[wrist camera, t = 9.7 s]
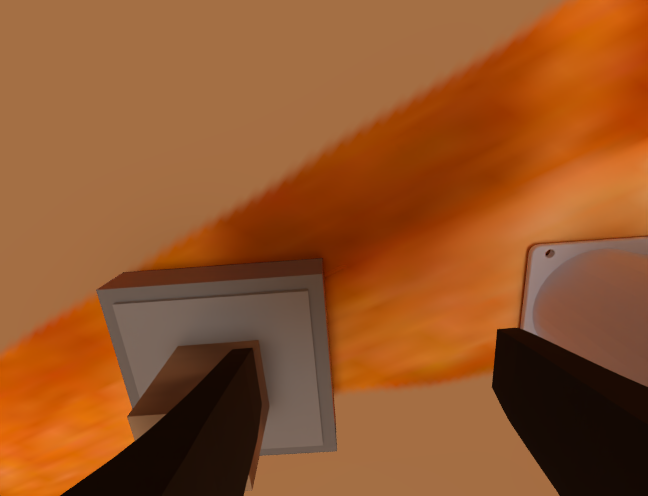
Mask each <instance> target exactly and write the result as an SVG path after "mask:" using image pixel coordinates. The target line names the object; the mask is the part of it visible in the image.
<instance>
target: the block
mask: <svg viewBox="0 0 648 496" xmlns="http://www.w3.org/2000/svg"><path fill="white" fill-rule="evenodd" d="M241 348H253V352H254V358H255V364H256V370H257V376H258V383H259V389H260V395H261V401H262V408H261V416H260V425H259V432H258V439H257V443H256V447H255V451H254V456H253V460H252V464H251V468H250V472H249V476H248V480H247V484H246V488H245V491H252V489H253V484H254V479H255V474H256V469H257V465H258V460H259V455H260V450H261V446H262V441H263V436H264V431H265V426H266V421H267V416H268V412H269V407H270V406H269V400H268V394H267V388H266V382H265V376H264V370H263V364H262V358H261V352H260V345H259V340H253V341H240V342H226V343H213V344H199V345H186V346H177V348H176V349H175V351H174V352H173V353H172V355H171V356H170V358H169V359H168V360H167V362H166V363H165V365H164V366H163V367H162V369H161V370H160V372H159V373H158V374H157V376H156V377H155V379H154V380H153V381H152V383H151V384H150V386H149V387H148V388H147V390H146V391H145V393H144V394H143V395H142V397H141V398H140V400H139V401H138V402H137V404H136V405H135V406H134V408H133V409H132V411H131V412H130V413H129V415H128V416H127V418H128V421H129V424H130V427H131V430H132V433H133V436H134V439H135V441H136V440H137V439H138V438H139V437H141V436H142V435H143V434H144V433H145V432H147V431H148V430H149V429H150V428H151V427H152V426H154V425H155V424H156V423H157V422H158V421H159V420H160V419H161V418H163V417H164V416H165V415H166V414H167V413H168V412H169V411H170V410H171V409H172V408H173V407H175V406H176V405H177V404H178V403H179V402H180V401H181V400H182V399H183V398H184V397H185V396H186V395H188V394H189V393H190V392H191V391H192V390H193V389H194V388H195V387H196V386H197V385H198V384H199V383H200V382H201V381H202V380H203V379H204V378H205V377H206V376H207V375H208V373H209V372H210V371H211V370H212V369H213V368H214V367H215V366H216V365H217V364H218V363H219V362H220V361H221V360H222V359H223V358H224V357H225V356H226V355H227V354H228V353H229V352H230V351H231V350H232V349H241Z"/></svg>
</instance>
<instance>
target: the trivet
mask: <svg viewBox="0 0 648 496" xmlns="http://www.w3.org/2000/svg"><path fill="white" fill-rule="evenodd" d="M96 291H97V294H98V297H99V301H100V304H101V307H102V310H103V314H104V317H105V320H106V324H107V327H108V330H109V333H110V337H111V340H112V343H113V346H114V350H115V353H116V356H117V360H118V363H119V366H120V369H121V373H122V376H123V379H124V382H125V386H126V389H127V392H128V396H129V399H130V402H131V405H132V409H133V408H134V406H135V405H136V404H137V402H138V401H139V400H140V398H141V397H142V395H143V394H144V393H145V391H146V390H147V388H148V387H149V386H150V384H151V383H152V381H153V380H154V379H155V377H156V376H157V374H158V373H159V372H160V370H161V369H162V367H163V366H164V365H165V363H166V362H167V360H168V359H169V358H170V356H171V355H172V353H173V352H174V351H175V349H176V348H177V346H186V345H199V344H213V343H226V342H240V341H253V340H259V345H260V352H261V358H262V364H263V370H264V376H265V382H266V388H267V394H268V400H269V406H270V407H269V412H268V416H267V421H266V426H265V431H264V436H263V441H262V446H261V450H260V455H259V456H262V455H279V454H296V453H313V452H329V451H330V452H331V451H337V442H336V420H335V407H334V394H333V382H332V370H331V358H330V346H329V333H328V321H327V309H326V297H325V284H324V272H323V260H322V258H319V259H305V260H291V261H277V262H263V263H249V264H235V265H221V266H207V267H193V268H179V269H165V270H151V271H137V272H123V273H122V274H120V275H118V276H117V277H115V278H114V279H112V280H111V281H109V282H108V283H106V284H105V285H103V286H102V287H100V288H99V289H97V290H96Z"/></svg>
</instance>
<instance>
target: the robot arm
mask: <svg viewBox="0 0 648 496" xmlns="http://www.w3.org/2000/svg"><path fill="white" fill-rule="evenodd" d="M548 250H550V253H549V254H548V255H546V256H545V253H546V251H548ZM492 388H493V390H494V392H495V394H496V396H497V398H498V400H499V402H500V404H501V406H502V408H503V410H504V412H505V414H506V416H507V418H508V419H509V421H510V423H511V424H512V426H513V427H514V429H515V430H516V432H517V433H518V435H519V436H520V438H521V439H522V441H523V442H524V444H525V445H526V447H527V448H528V450H529V451H530V453H531V454H532V456H533V457H534V458H535V460H536V461H537V463H538V464H539V466H540V467H541V469H542V470H543V472H544V473H545V475H546V476H547V477H548V479H549V480H550V482H551V483H552V485H553V486H554V488H555V489H556V490H557V492H558V494H559V495H560V496H648V236H646V237H632V238H618V239H604V240H590V241H576V242H562V243H548V244H537V245H534V246H533V247H532V248H531V249H530V251H529V255H528V264H527V273H526V282H525V290H524V299H523V308H522V317H521V326H520V328H509V329H497V339H496V349H495V360H494V371H493V382H492ZM261 408H262V401H261V395H260V389H259V383H258V376H257V370H256V364H255V358H254V352H253V348H241V349H232V350H231V351H230V352H229V353H228V354H227V355H226V356H225V357H224V358H223V359H222V360H221V361H220V362H219V363H218V364H217V365H216V366H215V367H214V368H213V369H212V370H211V371H210V372H209V373H208V375H207V376H206V377H205V378H204V379H203V380H202V381H201V382H200V383H199V384H198V385H197V386H196V387H195V388H194V389H193V390H192V391H191V392H190V393H189V394H188V395H186V396H185V397H184V398H183V399H182V400H181V401H180V402H179V403H178V404H177V405H176V406H175V407H173V408H172V409H171V410H170V411H169V412H168V413H167V414H166V415H165V416H164V417H163V418H161V419H160V420H159V421H158V422H157V423H156V424H155V425H154V426H152V427H151V428H150V429H149V430H148V431H147V432H145V433H144V434H143V435H142V436H141V437H139V438H138V439H137V440H136V441H134V442H133V443H132V444H131V445H129V446H128V447H127V448H125V449H124V450H123V451H122V452H120V453H119V454H118V455H117V456H115V457H114V458H113V459H111V460H110V461H109V462H107V463H106V464H104V465H103V466H102V467H100V468H99V469H97V470H96V471H94V472H93V473H92V474H90V475H89V476H87V477H86V478H85V479H83V480H82V481H80V482H79V483H77V484H76V485H75V486H73V487H72V488H70V489H69V490H67V491H66V492H65V493H63V494H62V495H60V496H244V491H245V488H246V484H247V480H248V476H249V472H250V468H251V464H252V460H253V456H254V451H255V447H256V443H257V439H258V432H259V425H260V416H261Z"/></svg>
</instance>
